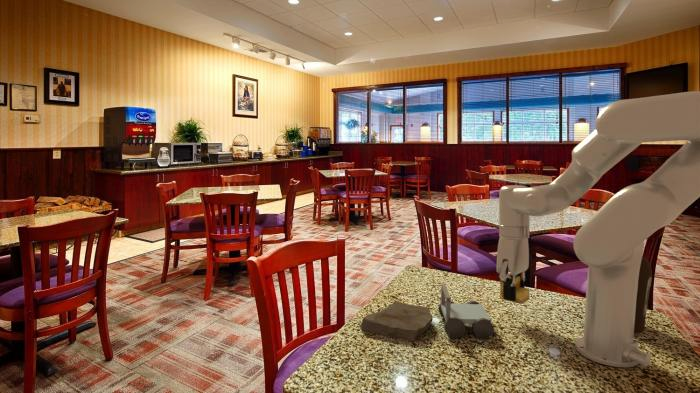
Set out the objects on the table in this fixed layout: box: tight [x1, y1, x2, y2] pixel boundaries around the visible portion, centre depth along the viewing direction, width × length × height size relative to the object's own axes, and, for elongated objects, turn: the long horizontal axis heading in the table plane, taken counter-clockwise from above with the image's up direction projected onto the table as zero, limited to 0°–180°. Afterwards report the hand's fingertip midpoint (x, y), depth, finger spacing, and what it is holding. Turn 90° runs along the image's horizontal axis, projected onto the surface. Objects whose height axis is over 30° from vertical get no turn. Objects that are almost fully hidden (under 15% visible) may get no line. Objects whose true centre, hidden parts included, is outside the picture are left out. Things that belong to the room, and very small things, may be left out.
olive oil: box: [634, 254, 653, 334], centre depth 105 cm, size 11×11×25 cm
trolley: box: [438, 283, 495, 340], centre depth 106 cm, size 12×13×10 cm
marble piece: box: [360, 301, 434, 342], centre depth 108 cm, size 17×15×4 cm
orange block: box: [499, 275, 530, 305], centre depth 109 cm, size 6×4×6 cm
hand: (513, 296), depth 109 cm, fingers closed on orange block, 4 cm apart
